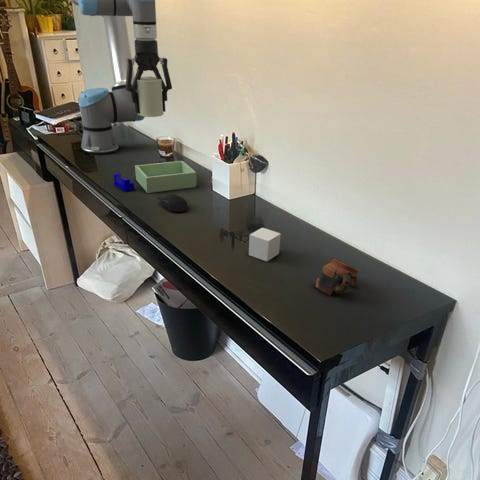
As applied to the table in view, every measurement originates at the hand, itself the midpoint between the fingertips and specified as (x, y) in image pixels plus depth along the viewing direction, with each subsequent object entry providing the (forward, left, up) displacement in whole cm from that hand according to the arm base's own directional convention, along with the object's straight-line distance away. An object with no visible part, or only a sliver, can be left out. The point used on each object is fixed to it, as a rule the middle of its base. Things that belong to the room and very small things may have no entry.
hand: (150, 111), depth 174 cm
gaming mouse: (+35, -5, -22) cm, 42 cm away
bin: (+15, 0, -21) cm, 26 cm away
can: (0, 0, -1) cm, 1 cm away
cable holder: (+14, -15, -22) cm, 30 cm away
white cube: (+77, +7, -22) cm, 80 cm away
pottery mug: (+100, +15, -22) cm, 104 cm away
